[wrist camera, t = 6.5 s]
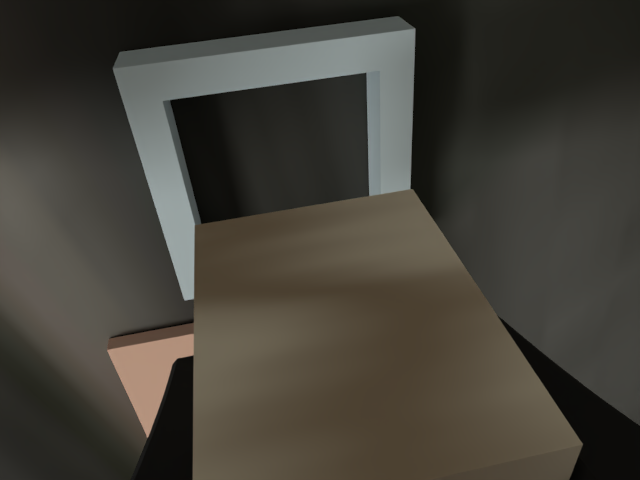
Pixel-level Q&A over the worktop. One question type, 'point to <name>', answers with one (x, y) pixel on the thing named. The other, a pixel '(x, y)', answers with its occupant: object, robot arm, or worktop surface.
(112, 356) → the mat
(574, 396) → the robot arm
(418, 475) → the birch block
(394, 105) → the holder
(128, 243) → the worktop surface
